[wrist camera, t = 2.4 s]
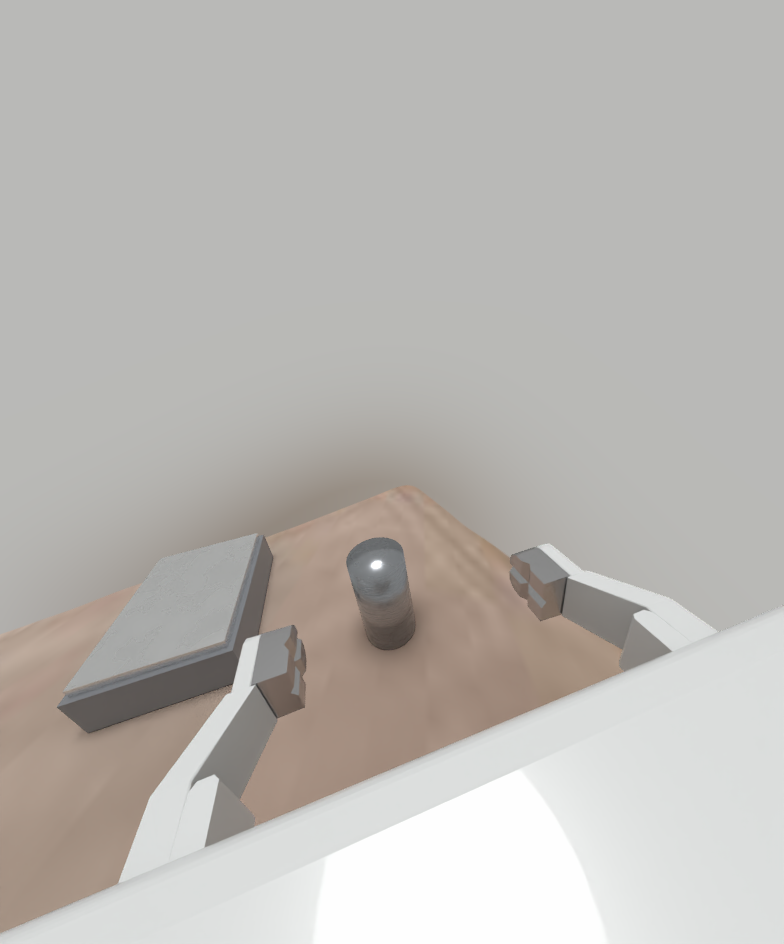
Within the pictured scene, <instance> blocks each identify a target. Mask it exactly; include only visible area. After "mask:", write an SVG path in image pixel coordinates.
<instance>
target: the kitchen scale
mask: <svg viewBox="0 0 784 944" xmlns="http://www.w3.org/2000/svg"><path fill="white" fill-rule="evenodd" d="M272 560H273V555H272V553H271V551H270V548H269V546H268V544H267V541H266V539H265V537H264V535H261V536H258V534H257V533H256V534H252V535H248V536H244V537H241V538H237V539H234V540H230V541H225V542H222V543H218V544H214V545H210V546H207V547H203V548H199V549H195V550H191V551H188V552H184V553H180V554H176V555H173V556H169V557H165V558H161V559H160V560H159V561H158V563H157V564H156V565H155V567H154V568H153V570H152V571H151V572H150V574H149V575H148V577H147V578H146V579H145V580H144V582H143V583H142V585H141V586H140V587H139V589H138V590H137V591H136V593H135V594H134V595H133V597H132V598H131V600H130V601H129V602H128V604H127V605H126V606H125V608H124V609H123V610H122V612H121V613H120V615H119V616H118V617H117V619H116V620H115V621H114V623H113V624H112V625H111V627H110V628H109V630H108V631H107V632H106V634H105V635H104V636H103V638H102V639H101V640H100V642H99V643H98V645H97V646H96V647H95V649H94V650H93V651H92V653H91V654H90V655H89V657H88V658H87V660H86V661H85V662H84V664H83V665H82V666H81V668H80V669H79V670H78V672H77V673H76V674H75V676H74V677H73V679H72V680H71V681H70V683H69V684H68V685H67V687H66V688H65V689H64V691H63V693H64V694H65V696H64V698H63V699H62V701H61V702H60V703H59V705H58V706H57V708H58V709H59V710H61V711H62V712H63V713H64V714H65V715H67V716H68V717H69V718H70V719H71V720H73V721H74V722H75V723H76V724H77V725H79V726H80V727H81V728H82V729H83V730H85V731H86V732H87V733H90V732H93V731H96V730H99V729H102V728H105V727H107V726H110V725H113V724H116V723H119V722H122V721H125V720H128V719H131V718H134V717H137V716H140V715H143V714H145V713H148V712H151V711H154V710H157V709H160V708H163V707H166V706H169V705H172V704H175V703H178V702H181V701H184V700H186V699H189V698H192V697H195V696H198V695H201V694H204V693H207V692H210V691H213V690H216V689H219V688H222V687H224V686H227V685H230V684H233V683H234V679H235V675H236V671H237V667H238V663H239V659H240V654H241V650H242V646H243V644H244V642H245V640H246V639H247V638H251V637H254V636H257V635H258V632H259V627H260V622H261V617H262V611H263V606H264V601H265V596H266V591H267V586H268V581H269V576H270V570H271V565H272Z"/></svg>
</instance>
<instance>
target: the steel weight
mask: <svg viewBox="0 0 784 944" xmlns="http://www.w3.org/2000/svg"><path fill="white" fill-rule="evenodd" d="M346 564H347V568H348V572H349V575H350V579H351V582H352V586H353V589H354V593H355V596H356V599H357V603H358V606H359V610H360V613H361V617H362V620H363V624H364V627H365V631H366V634H367V637H368V639H369V641H370V642H371V643H372V644H373V645H374V646H375V647H377V648H379V649H383V650H393V649H397V648H399V647H401V646H403V645H405V644H406V643H407V642H408V641H409V640H410V639H411V637H412V636H413V633H414V631H415V617H414V611H413V605H412V600H411V594H410V588H409V582H408V576H407V571H406V565H405V559H404V553H403V549H402V547H401V545H400V544H399V543H398V542H396V541H395V540H392V539H389V538H372V539H369V540H366V541H363V542H362V543H360V544H358V545H357V546H355V547H354V548H353V549H352V550H351V551H350V553H349V555H348V557H347V561H346Z"/></svg>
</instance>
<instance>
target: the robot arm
mask: <svg viewBox="0 0 784 944" xmlns="http://www.w3.org/2000/svg"><path fill="white" fill-rule="evenodd" d="M510 563H511V565H512V566H513V567H512V569H511V570H510V581H511V584H512V586H513V588H514V590H515V591H516V592H517V594H518V595H519V596H520V597H522V598H524V599H527V602H528V607H529V608H530V609H531V611H532V612H533V613H534V614H535V615H536V617H537V618H538V619H539V620H540V621H543V620H546V619H549V618H552V617H555V616H558V615H561V614H562V616H563V617H565V618H567V619H569V620H571V621H572V622H574V623H576V624H578V625H580V626H581V627H583V628H585V629H587V630H589V631H590V632H592V633H594V634H596V635H597V636H599V637H601V638H603V639H605V640H606V641H608V642H610V643H612V644H614V645H615V646H617V647H619V648H621V649H622V653H621V657H620V660H619V666H620V667H621V669H622V670H623V671H624V672H622V673H620V674H617V675H615V676H612V677H610V678H608V679H605V680H603V681H600V682H598V683H596V684H593V685H591V686H589V687H586V688H584V689H581V690H579V691H577V692H574V693H572V694H569V695H567V696H565V697H562V698H560V699H557V700H555V701H553V702H550V703H548V704H546V705H543V706H541V707H538V708H536V709H534V710H531V711H529V712H526V713H524V714H522V715H519V716H517V717H515V718H512V719H510V720H507V721H505V722H503V723H500V724H498V725H495V726H493V727H491V728H488V729H486V730H484V731H481V732H479V733H476V734H474V735H472V736H469V737H467V738H465V739H462V740H460V741H457V742H455V743H453V744H450V745H448V746H445V747H443V748H441V749H438V750H436V751H434V752H431V753H429V754H426V755H424V756H422V757H419V758H417V759H415V760H412V761H410V762H407V763H405V764H403V765H400V766H398V767H395V768H393V769H391V770H388V771H386V772H384V773H381V774H379V775H376V776H374V777H372V778H369V779H367V780H364V781H362V782H360V783H357V784H355V785H353V786H350V787H348V788H345V789H343V790H341V791H338V792H336V793H334V794H331V795H329V796H326V797H324V798H322V799H319V800H317V801H314V802H312V803H310V804H307V805H305V806H303V807H300V808H298V809H295V810H293V811H291V812H288V813H286V814H283V815H281V816H279V817H276V818H274V819H272V820H269V821H267V822H264V823H262V824H260V825H257V826H255V827H254V822H255V816H254V815H253V814H252V812H251V811H250V810H249V809H248V808H247V807H246V806H245V805H244V804H243V803H242V802H241V801H240V798H241V796H242V794H243V791H244V789H245V787H246V785H247V783H248V781H249V779H250V777H251V775H252V773H253V771H254V769H255V766H256V764H257V762H258V760H259V758H260V756H261V754H262V752H263V750H264V748H265V746H266V743H267V741H268V739H269V737H270V735H271V733H272V731H273V729H274V727H275V725H276V723H277V718H280V717H282V716H285V715H287V714H290V713H292V712H295V711H297V710H300V709H302V708H305V691H306V684H305V682H304V680H303V678H302V676H303V675H304V673H305V671H306V655H305V649H304V645H303V643H302V640H300V639H298V638H297V630H296V628H295V626H294V625H291V626H287V627H284V628H281V629H277V630H274V631H270V632H267V633H263V634H261V635H257V636H254V637H251V638H247V639H246V640H245V642H244V644H243V646H242V650H241V654H240V659H239V663H238V667H237V671H236V675H235V679H234V683H233V687H232V691H231V693H229V694H227V695H225V697H224V698H223V699H222V701H221V702H220V703H219V705H218V706H217V707H216V709H215V710H214V712H213V713H212V714H211V716H210V717H209V718H208V720H207V721H206V722H205V724H204V725H203V726H202V728H201V729H200V730H199V732H198V733H197V734H196V736H195V737H194V739H193V740H192V741H191V743H190V744H189V745H188V747H187V748H186V749H185V751H184V752H183V753H182V755H181V756H180V757H179V759H178V760H177V761H176V763H175V764H174V766H173V767H172V768H171V770H170V771H169V772H168V774H167V775H166V776H165V778H164V779H163V780H162V782H161V783H160V784H159V786H158V787H157V788H156V790H155V791H154V793H153V794H152V795H151V797H150V799H149V801H148V804H147V807H146V809H145V812H144V815H143V818H142V820H141V823H140V826H139V828H138V831H137V834H136V836H135V839H134V842H133V845H132V847H131V850H130V853H129V855H128V858H127V861H126V863H125V866H124V869H123V872H122V874H121V877H120V880H119V882H118V884H117V885H114V886H112V887H109V888H107V889H105V890H102V891H100V892H97V893H95V894H93V895H90V896H88V897H86V898H83V899H81V900H78V901H76V902H74V903H71V904H69V905H67V906H64V907H62V908H59V909H57V910H55V911H52V912H50V913H47V914H45V915H43V916H40V917H38V918H36V919H33V920H31V921H28V922H26V923H24V924H21V925H19V926H17V927H14V928H12V929H9V930H7V931H5V932H2V933H0V944H784V605H782V606H779V607H777V608H775V609H772V610H770V611H768V612H765V613H763V614H760V615H758V616H756V617H753V618H751V619H748V620H746V621H744V622H741V623H739V624H736V625H734V626H732V627H729V628H727V629H725V630H722V631H720V632H718V631H716V630H715V629H713V628H712V627H711V626H709V625H708V624H706V623H705V622H703V621H702V620H701V619H699V618H698V617H696V616H695V615H693V614H692V613H691V612H689V611H688V610H686V609H685V608H684V607H682V606H681V605H679V604H678V603H676V602H675V601H674V600H672V599H670V598H668V597H665V596H662V595H659V594H656V593H653V592H650V591H647V590H644V589H641V588H638V587H635V586H632V585H629V584H626V583H623V582H620V581H617V580H614V579H611V578H608V577H605V576H603V575H600V574H597V573H593V572H591V571H588V570H587V571H582V569H580V568H579V567H578V566H577V565H575V564H574V563H573V562H572V561H571V560H569V559H568V558H567V557H565V556H564V555H563V554H562V553H561V552H559V551H558V550H557V549H556V548H555V547H553V546H552V545H551V544H548V543H546V544H544V545H540V546H537V547H534V548H530V549H527V550H524V551H521V552H518V553H515V554H512V555H511V557H510Z"/></svg>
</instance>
